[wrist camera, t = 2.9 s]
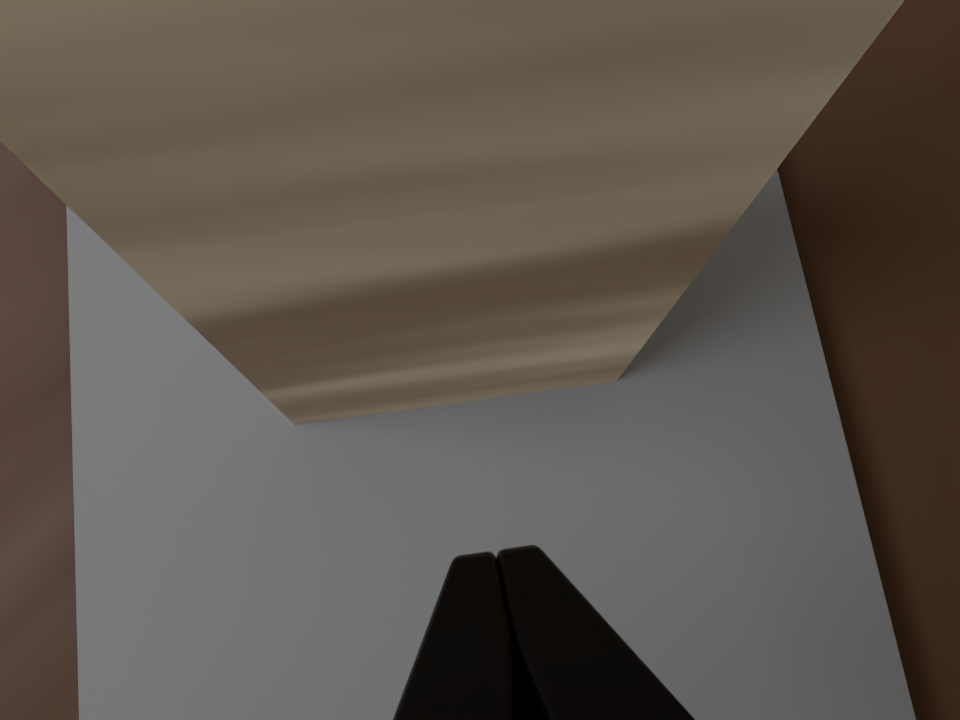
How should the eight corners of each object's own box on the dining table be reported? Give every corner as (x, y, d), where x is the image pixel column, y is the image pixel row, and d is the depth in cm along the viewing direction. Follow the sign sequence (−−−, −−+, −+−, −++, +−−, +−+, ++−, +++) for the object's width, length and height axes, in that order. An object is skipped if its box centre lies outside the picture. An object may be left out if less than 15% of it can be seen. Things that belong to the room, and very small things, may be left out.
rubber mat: (918, 773, 15) (930, 777, 14) (94, 909, 14) (83, 918, 14) (636, -359, 21) (639, -377, 21) (60, -310, 20) (53, -326, 20)
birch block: (619, 383, 16) (1466, -701, 3) (292, 427, 16) (-760, -552, 2) (581, 184, 17) (1042, -1349, 4) (273, 221, 17) (-521, -1318, 3)
